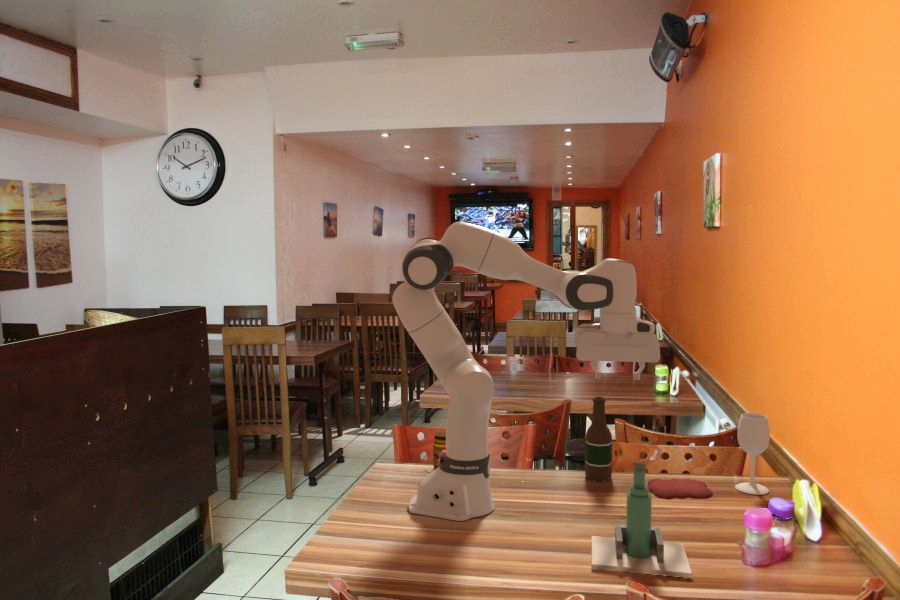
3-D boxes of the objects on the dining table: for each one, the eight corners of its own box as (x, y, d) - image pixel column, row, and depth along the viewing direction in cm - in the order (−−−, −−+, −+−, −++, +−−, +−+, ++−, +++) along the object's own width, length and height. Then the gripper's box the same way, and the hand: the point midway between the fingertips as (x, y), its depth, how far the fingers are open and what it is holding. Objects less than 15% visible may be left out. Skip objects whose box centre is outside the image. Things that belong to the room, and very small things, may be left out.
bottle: (626, 557, 140) (627, 466, 138) (625, 546, 145) (626, 458, 144) (652, 559, 139) (653, 467, 137) (649, 548, 144) (650, 460, 142)
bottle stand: (591, 569, 137) (591, 545, 137) (591, 540, 151) (591, 519, 150) (691, 578, 133) (692, 554, 133) (682, 548, 147) (682, 526, 146)
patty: (654, 500, 176) (654, 493, 176) (640, 482, 190) (641, 475, 190) (719, 500, 176) (719, 493, 176) (701, 482, 190) (701, 475, 189)
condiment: (440, 478, 194) (440, 438, 193) (424, 470, 200) (424, 432, 200) (460, 473, 198) (459, 434, 197) (444, 466, 205) (443, 428, 204)
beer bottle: (612, 482, 189) (613, 401, 187) (585, 481, 190) (585, 400, 189) (611, 473, 196) (612, 395, 195) (585, 472, 198) (585, 394, 196)
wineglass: (730, 484, 187) (731, 412, 185) (760, 484, 187) (762, 412, 185) (742, 495, 178) (744, 419, 177) (774, 495, 178) (777, 419, 176)
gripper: (574, 324, 161) (574, 379, 162) (661, 326, 156) (660, 382, 157) (575, 321, 167) (575, 375, 168) (658, 323, 163) (658, 377, 164)
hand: (617, 379), depth 163 cm, fingers open, 8 cm apart
